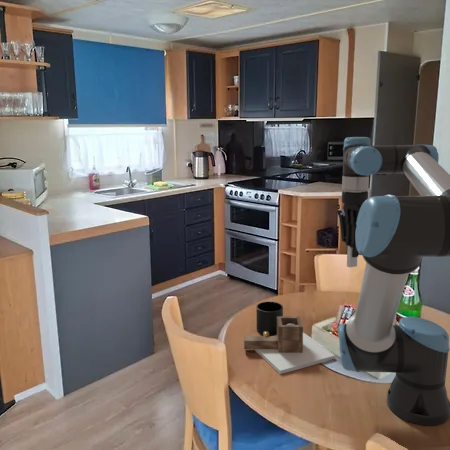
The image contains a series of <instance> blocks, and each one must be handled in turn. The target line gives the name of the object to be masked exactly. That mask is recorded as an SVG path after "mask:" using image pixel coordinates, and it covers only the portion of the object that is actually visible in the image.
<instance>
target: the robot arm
mask: <svg viewBox="0 0 450 450" xmlns="http://www.w3.org/2000/svg"><path fill="white" fill-rule="evenodd" d="M342 151H343V152H342V153H343V156H342V158H343V161H342V181H341V189H342V191H341V202H342V204H343V206H342V208H341V209H339V210H337V215H338V218H339V227H340V235H341V237H340V238H341V241H342V242H343V243H345V245H346V251H345V252H346V267H348V268H355V267H358V258H359V255H361V256H362V258H363V260H364V261H365V263H366V264H365V268H364V273H363V277H362V281H361V286H360V291H359V294H358V300H357V305H356V310H355V313H354V314H352V315H351V316H349V318H348V320H347V322H346V323H345V322H344V323H340V324H338V327H337V333H338V344H339V345H338V346H339V353H340V361H341V365H342V368H343V369H344V370H345V371H348V372H349V371H350V372H357V373H361V372H362V373H395V376H394V378H393V380H392V382H391V384H390V386H389V389H388V390H387V394H386V405H387V407H388V408H389V410H390V411H391V412H392V413H393V414H395V415H396V416H397V417H398V418H401V419H402V420H404V421H407V422H409V423H412V424H416V425H420V426H421V425H422V426H438V425H439V426H440V425H442V424H443V423H446V422H447V421H448V420H449V418H450V400H449V398H448V392H447V387H446V378H447V368H448V360H449V352H450V336H449V333H448V332H447V331H446V329H445V328H444V327H442V326H441V325H439V324H438V323H436V322H434V321H432V320H429V319H425V318H424V317H423V318H422V317H416V316H406V317H402V318H401V319H400V320H399V321H398V325H394V322H395V318H396V315H397V312H398V309H399V306H400V302H401V298H402V296H403V293H404V290H405V286H406V284H407V280H408V277H409V274H411V273H413V272H415V271H416V270H418V268H419V267H420V265H421V264H422V261H423V258H427V257H429V258H431V257H433V258H434V257H437V258H438V257H439V258H441V257H443V258H445V257H446V258H448V257H450V173H449V172H448V171H447V170H445V168H443V166H441V164H439V159H440V158H439V152H438V149H437V147H436V146H434V145H433V144H432V145H431V144H423V143H421V144H404V145H403V144H401V145H399V144H397V145H372V139H371V138H370V137H368V136H352V137H351V136H350V137H349V136H348V137H345V139H344V140H343V148H342ZM385 174H386V175H391V174H393V175H394V174H395V175H396V174H397V175H398V174H400V175H405V176H406V178H407V179H408V180H409V182H410V183H411V185H412V187H414V189H415V190H416V191H417V192H418V195H393V194H385V195H375V196H371V197H369V191H368V190H369V184H370V183H369V182H370V176H372V175H385Z"/></svg>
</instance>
